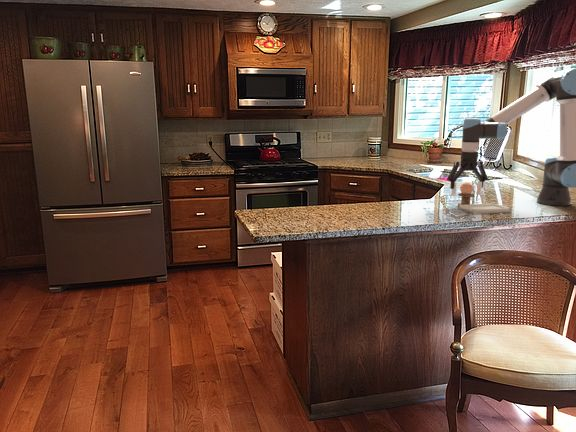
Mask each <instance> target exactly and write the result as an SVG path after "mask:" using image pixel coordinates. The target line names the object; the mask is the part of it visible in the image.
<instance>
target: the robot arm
mask: <svg viewBox="0 0 576 432" xmlns="http://www.w3.org/2000/svg"><path fill="white" fill-rule="evenodd" d="M553 99H556V100H555V101H556V102H557V103H558V104H559V107H560V108H559V135H560V136H559V156H558V157H548V158H546V159H545V161H544V165H543V166H544V169H543V176H542V177H543V179H542V187H541V189H540V191H539V195H538V196H537V198H536V203H538V204H542V205H547V206H554V207H555V206H557V207H558V206H559V207H560V206H561V207H562V206H563V207H565V206H571V204H572V199H571V195H570V189H569V188H573V189H574V188H576V68H575V67H574V68H573V67H572V68H568V69H564V70H559V71H556V72H554V73H552V74H551V75H549V76H548V77H547V78H546V79H544V80H543V81H541V82H540V83H537V84H536V86H535V88H534V89H532V90H531V91H530V92H528V93H526V94H525V95H523V96H522V97H520V98H518V99H517V100H515V101H514V102H512V103H510V104H509V105H507V106H506V107H504V108H502V109H501V110H499V111H498V112H496V113H494V114H493V115H492V116H490V117H489V118H486V119H485V120H484V121H481V119H480V118H477V117H475V118H474V117H472V118H471V117H470V118H468V117H466V118H465V119H463V125H462V140H461V148H460V149H461V152H460V161H455V160H454V163H453V166H452V169H451V170H450V173H449V174H448V176H447V177H446V181H448V182H449V183H450V184H449V185H450V186H449V187H450V189H451V196H453V197H456V195H457V193H456V192H457V182H456V181H457V180H458V179H459V178H460V176H461V175H462V174H463V173H464V172H469V171H470V172H473V173H474V175H475V177H476V178H477V179H478V180H477V185H476V195H479V196H481V195H482V189H483V188H484V184H485V182H486V181H488V180H489V178H488V175H487V174H486V171H485V167H484V162H483V161H482V160H478V157H479V155H478V154H479V152H478V151H479V145H480V144H479V143H480V140H481V139H484V140H485V139H486V140H487V139H488V140H489V139H490V140H491V139H493V140H499V139H505V138H506V136H507V133H508V125H509V124H510V123H512V122H514V121H515V120H517V119H519V118H520V117H521V116H523V115H525V114H526V113H528V112H529V111H531V110H533V109H534V108H536V107H537V106H539V105H541V104H542V103H544V102H550V101H551V100H553Z"/></svg>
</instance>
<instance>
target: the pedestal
mask: <svg viewBox="0 0 576 432" xmlns="http://www.w3.org/2000/svg"><path fill="white" fill-rule="evenodd" d="M457 196H459V197H461V199H460V200H461V201H460V203H459V202H458V203H457V207H459V205H466V204H471V198H474V197H475V194H474V193H471V194H462V193H461V192H458V195H457Z"/></svg>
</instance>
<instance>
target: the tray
mask: <svg viewBox="0 0 576 432" xmlns="http://www.w3.org/2000/svg"><path fill="white" fill-rule="evenodd" d="M458 209H459V210H461V211H464V212H465V213H469V214H473V215H478V214H479V215H480V214H481V215H482V214H500V213H503V214H504V213H505V214H506V213H511V212H512V208H511V207H509V206H507V205H506V206H505V205H502V204H498V203H473V204H472V203H470V204H466V205H459V206H458Z"/></svg>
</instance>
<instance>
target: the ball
mask: <svg viewBox="0 0 576 432" xmlns="http://www.w3.org/2000/svg"><path fill="white" fill-rule="evenodd" d="M459 188H460V189H459V190H460V193H462V194H473V191H474V186H473V184H472V183H469V182H463V183H462V184H461V185H460V187H459Z"/></svg>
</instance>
